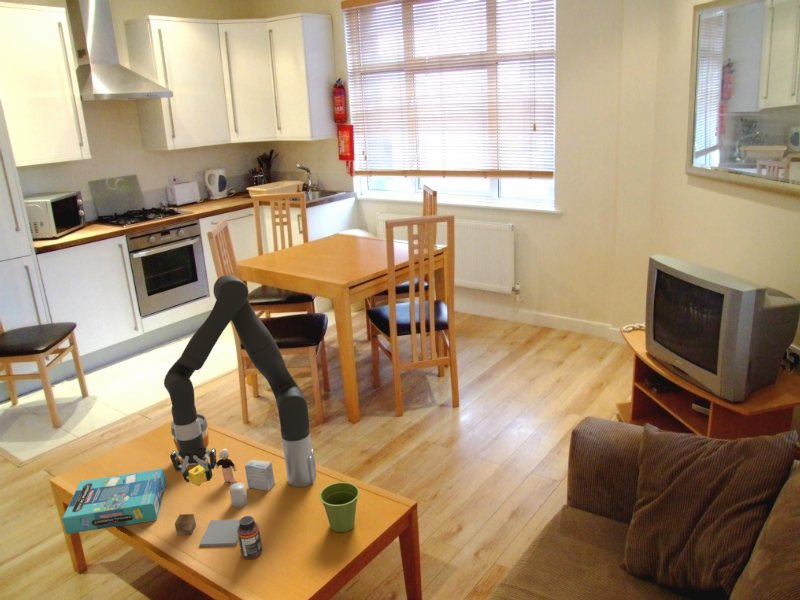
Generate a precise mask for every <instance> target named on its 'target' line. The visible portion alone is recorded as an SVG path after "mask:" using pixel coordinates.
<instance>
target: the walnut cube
mask: <svg viewBox="0 0 800 600" xmlns="http://www.w3.org/2000/svg"><path fill="white" fill-rule="evenodd" d="M174 527H175V532H176V537H177V536H192V535H193V533H194V530H195V529H196V527H197V524H196V519H195V513H185V514H184V513H183V514H178V516H177V519H176V521H175V522H174Z"/></svg>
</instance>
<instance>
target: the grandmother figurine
mask: <svg viewBox="0 0 800 600" xmlns="http://www.w3.org/2000/svg"><path fill="white" fill-rule="evenodd" d="M229 452H230V451H229V450H228V448H222V449H221V450H220V452H219V454H218V458H219V460H217V461H216V463H217V464H216V466H215V468H216V469H219V467H220V466H221V470H222V476H223V485H228V484H229V486H231V485H233V484H235V483H238V480H237V479H236V478H235V476H234V472H236V471H237V468H236V466H235V465H236V464H235V463H234V462H233V461H232V459H230V458H229V455H230V454H229Z"/></svg>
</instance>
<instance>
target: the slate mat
mask: <svg viewBox="0 0 800 600" xmlns="http://www.w3.org/2000/svg"><path fill="white" fill-rule="evenodd" d="M240 519H241V518H240ZM240 519H238V518H237V519H211V520H209V523H208V525H207V527H206V530H205V531H204V533H203V536H202V538H201V540H200V541H199V544H198V545H199V546H198V547H224V546H225V547H227V546H237V545H238V543H239V538H238V532H237V530H238V527H239V525H240V523H239V521H240Z"/></svg>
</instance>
